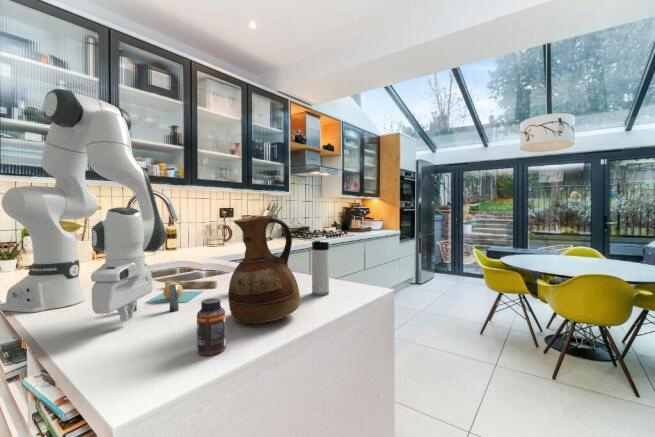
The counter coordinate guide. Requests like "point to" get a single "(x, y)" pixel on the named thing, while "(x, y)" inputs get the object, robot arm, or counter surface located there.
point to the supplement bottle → (211, 327)
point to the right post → (173, 297)
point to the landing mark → (184, 298)
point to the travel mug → (320, 268)
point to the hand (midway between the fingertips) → (126, 319)
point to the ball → (166, 290)
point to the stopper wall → (195, 284)
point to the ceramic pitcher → (262, 276)
